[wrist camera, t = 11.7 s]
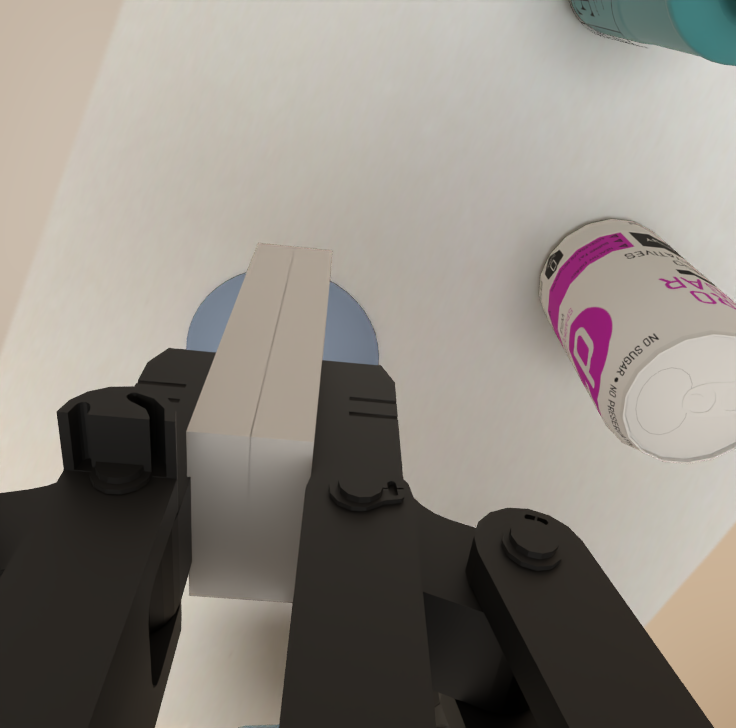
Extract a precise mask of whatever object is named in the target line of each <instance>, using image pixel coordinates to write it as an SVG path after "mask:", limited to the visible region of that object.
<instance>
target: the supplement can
mask: <svg viewBox="0 0 736 728" xmlns="http://www.w3.org/2000/svg"><path fill="white" fill-rule="evenodd" d="M539 297H540V300H541V303H542V306H543V309H544V312H545V315H546V317H547V319H548V320H549V322H550V324H551V326H552V328H553V330H554V331H555V333H556V335H557V337H558V339H559V340H560V342H561V344H562V346H563V348H564V350H565V351H566V353H567V355H568V357H569V359H570V361H571V362H572V364H573V366H574V368H575V370H576V371H577V373H578V375H579V377H580V379H581V381H582V382H583V384H584V386H585V388H586V390H587V392H588V393H589V395H590V397H591V399H592V401H593V402H594V404H595V406H596V408H597V410H598V412H599V413H600V415H601V417H602V419H603V421H604V422H605V424H606V426H607V427H608V428H609V429H610V430H611V431H612V432H613V433H614V434H615V435H616V436H617V438H618V439H619V440H620V441H621V442H622V443H624V444H627V445H629V446H631V447H633V448H636V449H638V450H640V451H641V452H642V453H644V454H647V455H649V456H651V457H653V458H656V459H658V460H660V461H662V462H672V463H683V464H689V463H695V462H700V461H705V460H711V459H714V458H716V457H719V456H721V455H723V454H725V453H727V452H729V451H732V450H734V449H736V304H735V303H734V302H733V301H732V300H731V299H730V298H729V297H727V296H726V295H725V294H724V293H723V292H722V291H721V290H719V289H718V288H717V287H716V286H715V285H714V284H712V283H711V282H710V281H709V280H708V279H707V278H706V277H704V276H703V275H702V274H701V273H700V272H699V271H698V270H696V269H695V268H694V267H693V266H692V265H691V264H690V263H688V262H687V261H686V260H685V259H684V258H683V257H681V256H680V255H679V254H678V253H677V252H676V251H675V250H673V249H672V248H671V247H670V246H669V245H668V244H667V243H665V242H664V241H663V240H662V239H661V238H660V237H659V236H657V235H656V234H655V233H654V232H653V231H651V230H649V229H647V228H645V227H643V226H642V225H640V224H638V223H636V222H634V221H625V220H616V219H609V220H604V221H600V222H595V223H591V224H587V225H585V226H584V227H582V228H580V229H579V230H577V231H575V232H573V233H572V234H570V235H568V236H567V237H565V239H564V240H563V241H562V242H561V243H560V244H559V245H558V246H557V247H556V248H555V249H554V251H553V252H552V253H551V254H550V255H549V258H548V260H547V262H546V264H545V266H544V269H543V271H542V273H541V276H540V290H539Z"/></svg>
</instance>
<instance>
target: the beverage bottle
mask: <svg viewBox="0 0 736 728" xmlns="http://www.w3.org/2000/svg"><path fill="white" fill-rule="evenodd" d="M569 3H570V2H569ZM571 3H572V5H573V7H574V9H575V12H576V14H578V16H579V17H580V18H581V19H582V20H583V21H584V22H585V23H583V24H587V25H588V27H589V26H590V27H591V28H593V29H594V30H596V31H598V32H600V34H601V35H602V33H603V35H604V34H607V35H608V36H609V35H610V36H613V37H614V36H615V37H619V40H620V38H623V39H627V40H631V41H635V42H639V43H645V44H653V45H657V46H661V47H665V48H669V49H673V50H677V51H681V52H685V53H689V54H693V55H697V56H701V57H703V58H705V59H707V60H710V61H712V62H716V63H720V64H724V65H732V66H736V0H571ZM570 6H571V5H570ZM571 8H572V7H571ZM572 10H573V9H572ZM573 12H574V11H573ZM574 14H575V13H574ZM576 17H577V16H576ZM578 20H579V19H578ZM581 23H582V22H581ZM587 29H588V28H587ZM594 30H593V31H594ZM591 31H592V30H591ZM598 32H597V33H598ZM594 33H595V31H594ZM597 33H596V34H597ZM600 34H598V35H600ZM601 35H600V36H601ZM603 35H602V36H603ZM606 37H607V36H606ZM609 38H610V37H608V39H609ZM610 39H611V38H610ZM613 40H614V39H613ZM615 40H616V39H615ZM617 41H618V40H617ZM621 42H622V40H621ZM629 42H630V41H629ZM625 43H627V42H626V41H625ZM629 44H630V43H629ZM632 44H633V43H632ZM633 45H634V44H633ZM637 46H638V45H637ZM639 47H640V46H639ZM641 47H642V46H641ZM645 48H646V47H645Z"/></svg>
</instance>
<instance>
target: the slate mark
mask: <svg viewBox="0 0 736 728" xmlns="http://www.w3.org/2000/svg"><path fill="white" fill-rule="evenodd" d="M246 273H247V272H246ZM246 273H244V274H241V275H238V276H236V277H234V278H232V279H230V280H228V281H226V282H224V283H223V284H222V285H220V286H219V287H217V288H216V289H215V290H214V291H213V292H212V293H211V294H209V295H208V296H207V297H206V299H205V300H204V301H203V302H202V304H201V305H200V306H199V308H198V310H197V312H196V313H195V315H194V317H193V320H192V322H191V325H190V327H189V332H188V337H187V348H186V350H195V351H206V352H217V349H218V347H219V344H220V341H221V339H222V336H223V333H224V331H225V328H226V325H227V323H228V320H229V318H230V315H231V312H232V310H233V307H234V304H235V302H236V299H237V297H238V294H239V291H240V289H241V286H242V283H243V281H244V278H245V276H246ZM378 359H379V354H378V344H377V340H376V335H375V332H374V329H373V327H372V324H371V322H370V320H369V319H368V317H367V315H366V313H365V312H364V310H363V309H362V308H361V307H360V305H359V304H358V303H357V302H356V301H355V300H354V299H353V298H352V297H351V296H350V295H349V294H348V293H347V292H346V291H344V290H343V289H342V288H340V287H339V286H338V285H336V284H334V283H332V282H331V281H330V285H329V296H328V306H327V317H326V328H325V339H324V350H323V360H326V361H337V362H348V363H359V364H370V365H378Z"/></svg>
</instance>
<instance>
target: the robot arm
mask: <svg viewBox="0 0 736 728" xmlns="http://www.w3.org/2000/svg"><path fill="white" fill-rule="evenodd" d="M332 252H333V251H331V250H322V249H312V248H302V247H292V246H283V245H273V244H263V243H258V244H257V247H256V249H255V252H254V255H253V257H252V260H251V262H250V265H249V268H248V270H247V273H246V276H245V278H244V281H243V283H242V286H241V289H240V291H239V294H238V297H237V299H236V302H235V304H234V307H233V310H232V312H231V315H230V318H229V320H228V323H227V325H226V328H225V331H224V333H223V336H222V339H221V341H220V344H219V347H218V349H217V352H206V351H195V350H184V349H173V348H168V349H167V350H165V351H164V352H162V353H161V354H159V355H158V356H156V357H155V358H153V359H152V360H150V361H149V362H148V363H147V365H146V367H145V368H144V370H143V372H142V374H141V376H140V377H139V379H138V384H137V383H136V385H135V387H108V388H103V389H98V390H93V391H89V392H86V393H84V394H82V395H80V396H77V397H75V398H73V399H71V400H69V401H68V402H67V403H66V404H65V405H63V406H62V407H61V408H60V409H59V410H58V411H57V419H58V427H59V434H60V442H61V450H62V458H63V466H64V471H63V473H62V474H61V476H60V478H59V479H58V481H57V483H54V484H51V485H48V486H44V487H39V488H34V489H29V490H21V491H14V492H6V493H0V728H155V725H156V721H157V717H158V714H159V710H160V706H161V702H162V699H163V695H164V691H165V688H166V684H167V680H168V676H169V673H170V669H171V665H172V662H173V658H174V654H175V650H176V647H177V643H178V639H179V636H180V632H181V615H182V614H181V599H182V595H183V592H184V588H185V585H186V581H187V578H188V574H189V596H202V597H217V598H231V599H245V600H259V601H274V602H288V603H293V606H292V615H291V624H290V633H289V642H288V651H287V660H286V669H285V679H284V688H283V697H282V706H281V715H280V724H279V725H256V726H242V727H239V728H714V727H713V725H712V724H711V723H710V721H709V720H708V719H707V717H706V716H705V714H704V713H703V711H702V710H701V709H700V707H699V706H698V704H697V703H696V701H695V700H694V699H693V697H692V696H691V694H690V693H689V692H688V690H687V689H686V687H685V686H684V684H683V683H682V682H681V680H680V679H679V677H678V676H677V675H676V673H675V672H674V670H673V669H672V667H671V666H670V665H669V663H668V662H667V660H666V659H665V657H664V656H663V655H662V653H661V652H660V650H659V649H658V648H657V646H656V645H655V643H654V642H653V640H652V639H651V638H650V636H649V635H648V633H647V632H646V631H645V629H644V628H643V626H642V625H641V624H640V622H639V621H638V619H637V618H636V616H635V615H634V614H633V612H632V611H631V609H630V608H629V607H628V605H627V604H626V602H625V601H624V599H623V598H622V597H621V595H620V594H619V592H618V591H617V590H616V588H615V587H614V585H613V584H612V582H611V581H610V580H609V578H608V577H607V575H606V574H605V573H604V571H603V570H602V568H601V567H600V565H599V564H598V563H597V561H596V560H595V558H594V557H593V556H592V554H591V553H590V551H589V550H588V548H587V547H586V546H585V544H584V543H583V541H582V540H581V539H580V538H579V537H578V536H577V535H576V534H575V533H574V532H573V531H572V530H571V529H570V528H569V527H568V526H566V525H564V524H563V523H561V522H559V521H558V520H556V519H554V518H553V517H551V516H549V515H546V514H543V513H539V512H536V511H533V510H530V509H519V508H505V509H501V510H498V511H494V512H490V513H489V514H488V515H486V516H485V517H484V518H483V519H482V520H480V521H479V522H478V525H477V528H474V527H471V526H467V525H464V524H461V523H458V522H455V521H452V520H449V519H447V518H444V517H442V516H439V515H437V514H435V513H433V512H431V511H430V510H428V509H427V508H425V507H423V506H422V505H421V504H420V503H419V502H418V501H417V500H416V499H414V498H413V495H412V492H411V490H410V487H409V485H408V483H407V482H406V481H405V480H404V479H403V473H402V462H401V450H400V439H399V427H398V420H397V416H398V415H397V404H396V392H395V382H394V381H393V380H392V379H391V377H390V376H389V375H388V374H387V372H386V371H385V370H384V369H383V367H382V366H380V365H370V364H359V363H348V362H337V361H326V360H323V350H324V339H325V328H326V317H327V306H328V296H329V285H330V274H331V263H332Z"/></svg>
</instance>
